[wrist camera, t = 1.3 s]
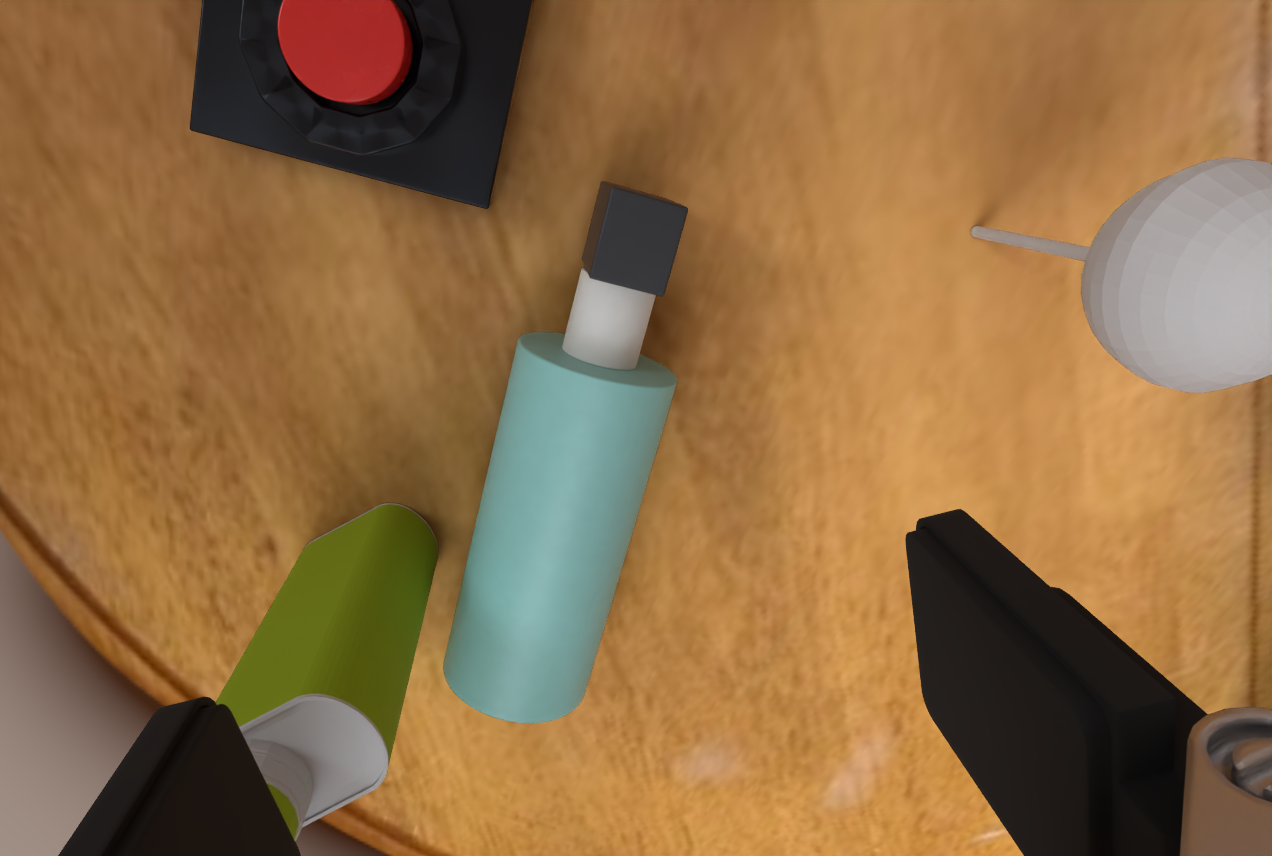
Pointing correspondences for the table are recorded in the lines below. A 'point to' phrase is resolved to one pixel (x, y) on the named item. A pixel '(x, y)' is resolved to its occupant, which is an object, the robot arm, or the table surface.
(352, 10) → the button
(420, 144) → the button box
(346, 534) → the vape
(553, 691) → the spray bottle
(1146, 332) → the lollipop
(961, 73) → the table surface
